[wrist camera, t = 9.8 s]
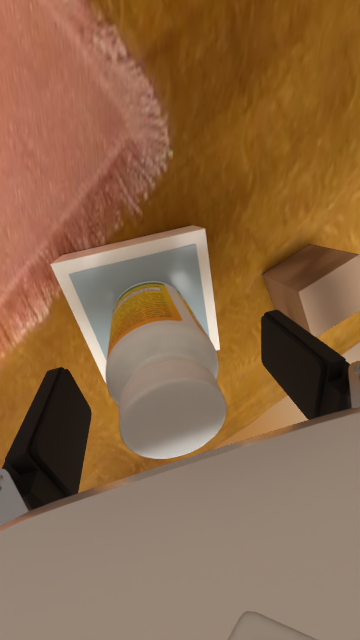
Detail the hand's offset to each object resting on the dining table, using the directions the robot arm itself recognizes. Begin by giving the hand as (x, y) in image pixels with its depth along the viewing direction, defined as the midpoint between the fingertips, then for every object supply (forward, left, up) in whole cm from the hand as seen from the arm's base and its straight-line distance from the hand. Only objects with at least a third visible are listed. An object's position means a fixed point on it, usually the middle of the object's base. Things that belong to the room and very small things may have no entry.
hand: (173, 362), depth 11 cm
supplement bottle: (+1, 0, -7) cm, 7 cm away
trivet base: (+1, 0, -10) cm, 10 cm away
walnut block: (-13, +2, -10) cm, 17 cm away
